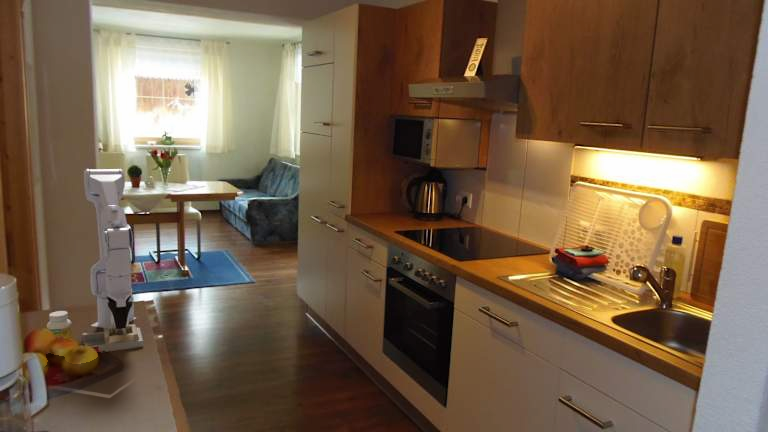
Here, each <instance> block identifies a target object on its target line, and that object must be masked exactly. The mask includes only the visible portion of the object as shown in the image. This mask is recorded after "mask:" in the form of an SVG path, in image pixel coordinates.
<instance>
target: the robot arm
mask: <svg viewBox="0 0 768 432" xmlns="http://www.w3.org/2000/svg"><path fill="white" fill-rule="evenodd" d="M125 177H126V176H125V171H124V170H123V169H122V168H110V169H109V168H108V169H107V168H101V169H99V168H97V169H96V168H95V169H94V168H92V169H91V168H90V169H89V168H85V170H84V171H83V187H84V196H85V197H86V200H87V201H88V202H91V203H93V205H94V207H95V211H96V221H97V234H98V235H97V236H98V244H99V246H98V247H99V257H100V260H98V261H97V262H96V263H95V264H93V265H92V266H91V268H90V270H89V271H90V278H89V279H90V290H91V293H92V294H93V295H94V296H96V302H97V303H96V305H97V306H96V307H97V322H95V323H92V324H91V325H90V327H96V328H103V329H104V328H106V327H111V312H112V314H113V317H114V322H115V326H116V328H117V329H122V328H126V324H127V318H128V322H129V323H130V322H132V321H134V320H135V319H137V317H135V309H134V307H135V305H134V297H133V289H132V263H131V262H132V261H131V260H132V257H131V255H132V254H131V250H133V244H134V236H133V231H132V228H131V226H130V224H128V222H127V218H126V217H127V216H126V213H125V210H124V209H123V208H122V207H121V206H119V201H120V200H122V198H123V195H124V189H125V184H126V183H125V182H126V180H125Z"/></svg>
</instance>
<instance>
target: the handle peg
mask: <svg viewBox="0 0 768 432" xmlns="http://www.w3.org/2000/svg"><path fill="white" fill-rule="evenodd" d="M129 323H130V322H128V318H127V324H126V328H122V329H117V328H116V326H115V322H114V317H113V314H112V312H111V327H112V336H115V335H123V334H129V325H130V324H129Z"/></svg>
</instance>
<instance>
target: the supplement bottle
mask: <svg viewBox="0 0 768 432" xmlns="http://www.w3.org/2000/svg"><path fill="white" fill-rule="evenodd" d="M48 318H49V322H47V324H46V331H47V330H49V331H51V332H52V333H54V335H56V336H57V337H60V338H67V339H72V340H73V330H72V329H73V328H72V327H73V325H72V321H71V320H70V319H68V318H69V313H68V311H66V310H57V311H54V312H50V313H49V315H48Z"/></svg>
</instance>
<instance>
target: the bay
mask: <svg viewBox="0 0 768 432" xmlns="http://www.w3.org/2000/svg"><path fill="white" fill-rule="evenodd" d="M136 329H137V333H138V340H135V341H127V342H120V343H112V344H105V340H104V331H99V332H89V333H88V332H85V333H82V345H83V344H85V345H90V346H91V347H97V346H98V347H99V349H100V350H101V351H105V352H104V353H106V352H107V353H108V352H113V351H114V352H115V351H116V352H117V351H121V350H123V351H124V350H130V349H136V348H143V347H144V340H143V336H142V332H141V328H140V327H136Z"/></svg>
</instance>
